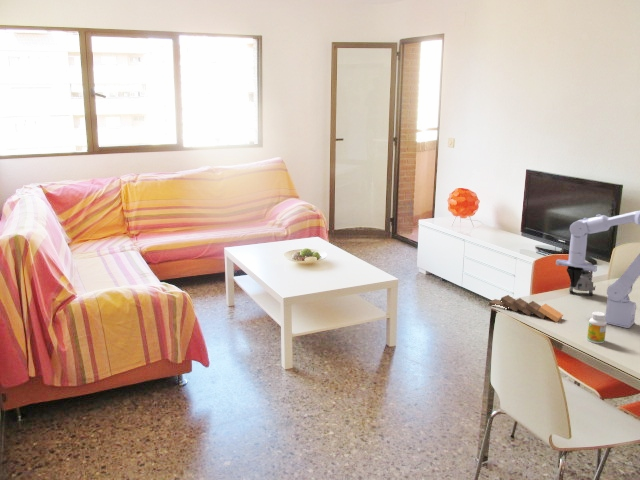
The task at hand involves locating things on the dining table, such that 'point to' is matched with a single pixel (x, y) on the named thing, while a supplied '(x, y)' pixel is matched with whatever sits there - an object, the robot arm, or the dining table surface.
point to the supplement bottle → (597, 328)
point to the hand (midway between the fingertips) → (573, 286)
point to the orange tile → (550, 312)
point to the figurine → (584, 282)
